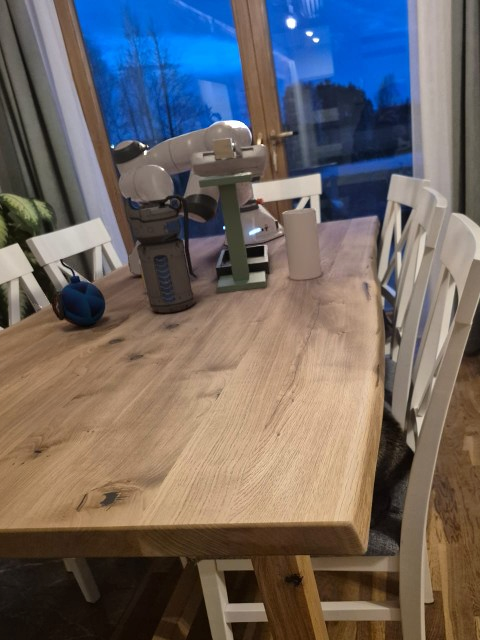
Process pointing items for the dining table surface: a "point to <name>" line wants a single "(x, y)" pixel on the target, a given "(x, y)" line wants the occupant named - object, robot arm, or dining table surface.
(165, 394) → the dining table surface
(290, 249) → the cup
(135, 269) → the sculpture
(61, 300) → the bomb
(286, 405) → the dining table surface
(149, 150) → the robot arm
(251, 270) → the tray
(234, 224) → the stand
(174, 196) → the grenade canister
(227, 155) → the tan rectangular bar
